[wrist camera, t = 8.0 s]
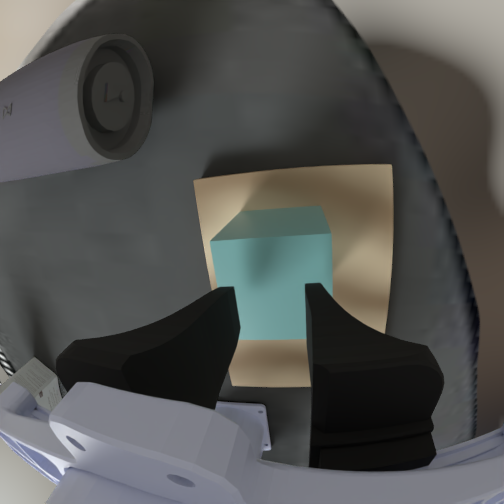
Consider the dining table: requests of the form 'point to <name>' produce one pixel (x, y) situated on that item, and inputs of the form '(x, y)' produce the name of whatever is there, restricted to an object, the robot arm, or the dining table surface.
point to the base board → (343, 249)
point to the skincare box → (37, 383)
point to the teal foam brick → (273, 267)
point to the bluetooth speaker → (76, 108)
